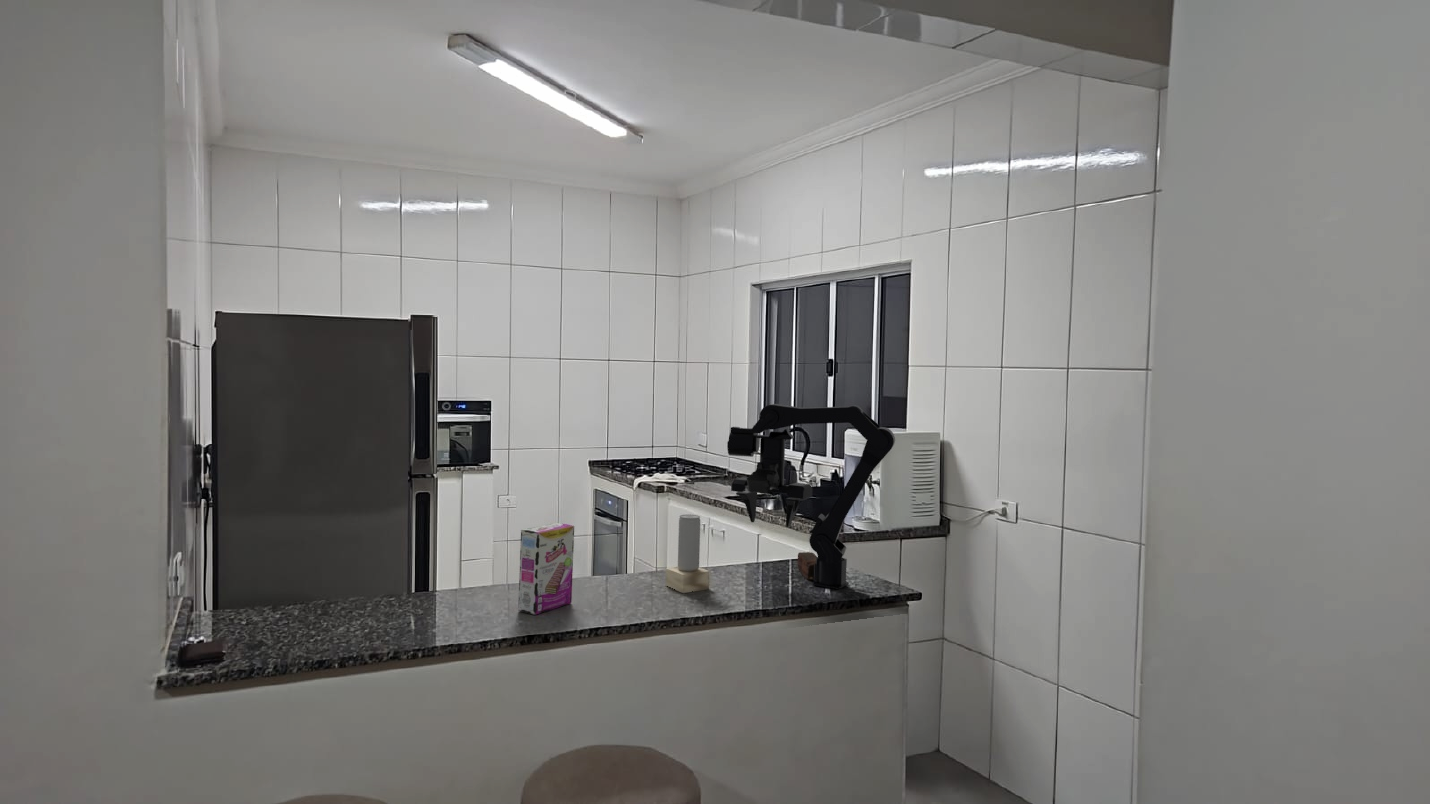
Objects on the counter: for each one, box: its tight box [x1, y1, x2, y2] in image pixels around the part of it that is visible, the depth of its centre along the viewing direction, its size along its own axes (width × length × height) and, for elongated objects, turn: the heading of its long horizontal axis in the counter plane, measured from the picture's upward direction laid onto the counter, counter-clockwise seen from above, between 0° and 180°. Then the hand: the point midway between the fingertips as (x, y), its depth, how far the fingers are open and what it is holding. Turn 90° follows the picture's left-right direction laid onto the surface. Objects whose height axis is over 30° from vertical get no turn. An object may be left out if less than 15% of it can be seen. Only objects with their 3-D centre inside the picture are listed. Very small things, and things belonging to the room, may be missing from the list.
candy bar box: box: [517, 522, 575, 616], centre depth 178 cm, size 11×5×16 cm, turn 149°
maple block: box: [665, 566, 710, 594], centre depth 197 cm, size 7×7×4 cm
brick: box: [796, 551, 818, 581], centre depth 212 cm, size 11×4×5 cm, turn 9°
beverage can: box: [677, 514, 701, 572], centre depth 197 cm, size 5×5×12 cm
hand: (770, 524), depth 206 cm, fingers open, 9 cm apart
